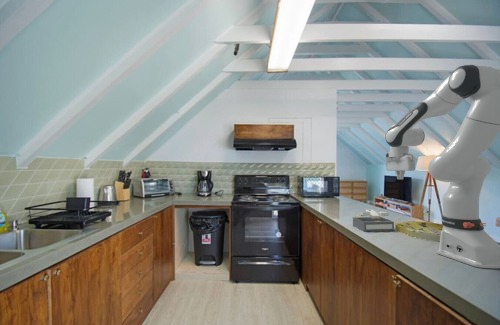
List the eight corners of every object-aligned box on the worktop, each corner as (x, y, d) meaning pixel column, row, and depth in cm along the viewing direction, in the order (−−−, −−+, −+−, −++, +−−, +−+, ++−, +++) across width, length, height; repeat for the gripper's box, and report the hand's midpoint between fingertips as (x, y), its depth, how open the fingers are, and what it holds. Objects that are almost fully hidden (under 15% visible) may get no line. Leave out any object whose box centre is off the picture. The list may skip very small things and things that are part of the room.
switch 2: (379, 218, 141) (379, 215, 141) (372, 218, 141) (372, 215, 141) (372, 212, 149) (372, 209, 149) (365, 212, 149) (365, 209, 148)
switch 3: (388, 215, 141) (388, 212, 141) (381, 215, 141) (381, 212, 141) (380, 214, 149) (380, 211, 149) (373, 214, 149) (373, 211, 149)
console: (394, 231, 138) (394, 221, 138) (364, 231, 137) (364, 222, 137) (380, 225, 152) (379, 216, 152) (352, 225, 152) (352, 216, 152)
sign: (406, 233, 122) (390, 220, 151) (407, 240, 122) (391, 226, 151) (478, 237, 114) (447, 222, 143) (478, 244, 114) (447, 228, 143)
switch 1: (370, 215, 141) (370, 211, 141) (363, 215, 141) (362, 211, 141) (363, 215, 148) (363, 212, 149) (356, 216, 148) (356, 212, 149)
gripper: (418, 152, 131) (419, 179, 131) (393, 154, 151) (394, 178, 151) (406, 152, 131) (407, 180, 130) (383, 155, 151) (384, 178, 151)
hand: (400, 179), depth 141 cm, fingers closed
